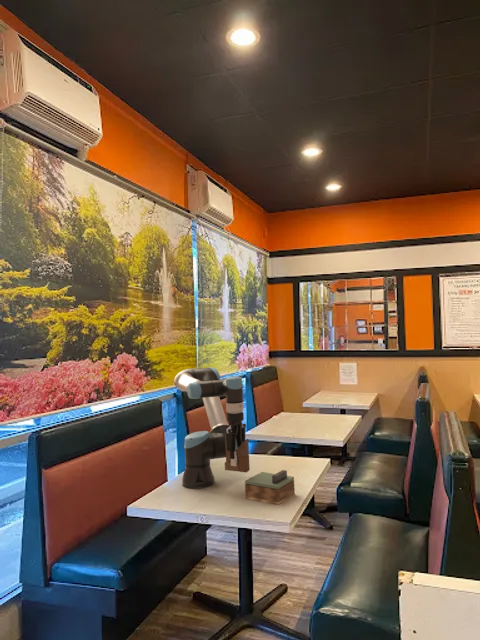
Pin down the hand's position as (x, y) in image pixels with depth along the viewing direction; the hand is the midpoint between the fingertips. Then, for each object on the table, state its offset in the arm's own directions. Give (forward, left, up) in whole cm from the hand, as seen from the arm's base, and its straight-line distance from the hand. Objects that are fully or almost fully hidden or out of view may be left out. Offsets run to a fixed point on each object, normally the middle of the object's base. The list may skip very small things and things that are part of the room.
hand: (236, 464), depth 220 cm
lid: (+17, 0, -5) cm, 18 cm away
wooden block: (0, 0, -3) cm, 3 cm away
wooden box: (+17, 0, -12) cm, 20 cm away
